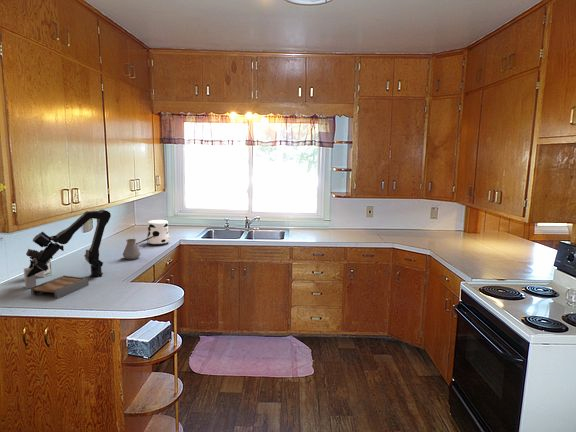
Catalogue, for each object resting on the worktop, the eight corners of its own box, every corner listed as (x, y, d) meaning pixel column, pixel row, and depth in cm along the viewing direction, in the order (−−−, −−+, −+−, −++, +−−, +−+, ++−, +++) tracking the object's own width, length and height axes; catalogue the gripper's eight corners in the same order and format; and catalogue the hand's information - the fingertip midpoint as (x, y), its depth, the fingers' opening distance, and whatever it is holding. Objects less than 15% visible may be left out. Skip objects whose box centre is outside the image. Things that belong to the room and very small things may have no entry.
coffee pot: (122, 260, 269) (121, 239, 266) (123, 256, 280) (122, 235, 277) (155, 258, 276) (155, 237, 273) (155, 254, 286) (155, 234, 284)
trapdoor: (63, 283, 221) (63, 277, 220) (82, 285, 218) (81, 279, 217) (34, 294, 202) (33, 288, 202) (54, 297, 200) (53, 290, 199)
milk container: (174, 243, 323) (173, 221, 320) (157, 247, 308) (156, 224, 305) (159, 240, 331) (158, 218, 329) (142, 244, 317) (141, 221, 314)
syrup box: (44, 277, 231) (42, 252, 229) (35, 276, 232) (33, 252, 230) (51, 274, 237) (50, 250, 235) (43, 273, 238) (41, 249, 236)
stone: (25, 286, 216) (23, 268, 214) (34, 284, 219) (33, 267, 217) (26, 288, 212) (25, 270, 211) (36, 287, 215) (35, 269, 214)
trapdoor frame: (64, 282, 224) (63, 275, 223) (88, 285, 220) (88, 278, 219) (31, 295, 203) (30, 287, 202) (57, 298, 199) (56, 291, 199)
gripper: (32, 240, 221) (10, 263, 216) (39, 246, 207) (15, 271, 202) (50, 252, 228) (28, 274, 222) (57, 259, 214) (35, 283, 208)
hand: (26, 275), depth 214 cm, fingers open, 5 cm apart
